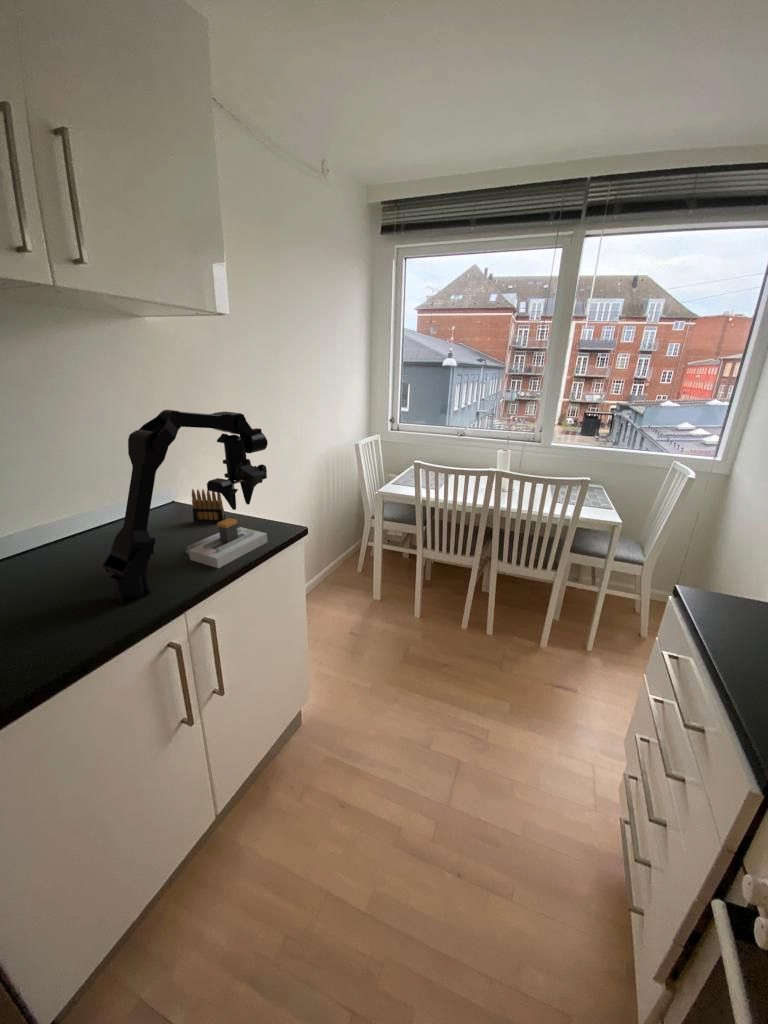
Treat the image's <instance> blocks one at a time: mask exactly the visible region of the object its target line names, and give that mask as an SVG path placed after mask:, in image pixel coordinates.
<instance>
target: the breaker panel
mask: <svg viewBox="0 0 768 1024" xmlns="http://www.w3.org/2000/svg"><path fill="white" fill-rule="evenodd" d="M237 532H238V538H237V539H235V540H233V541H231V542H229V543H224V542H221V541H220V536H219V537H217V538H215V539H212V540H210V541H208V542H206V543H204V544H201V545H199V546H197V547H195V548H193V549H190V550H189V554H188V555H189V560H190V561H192V562H196V563H199V564H203V565H206V566H209V567H213V568H216V569H220V568H221V567H223V566H226V565H227V564H229V563H232V562H233V561H235V560H237V559H239V558H240V557H242V556H245V555H246V554H249V552H252V551H254V550H255V549H257V548H260V547H261V546H263V545H265V544H267V543H268V533H267V532H262V531H258V530H256V529H254V530H253V529H249V528H245V527H242V526H240V527H237Z"/></svg>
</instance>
